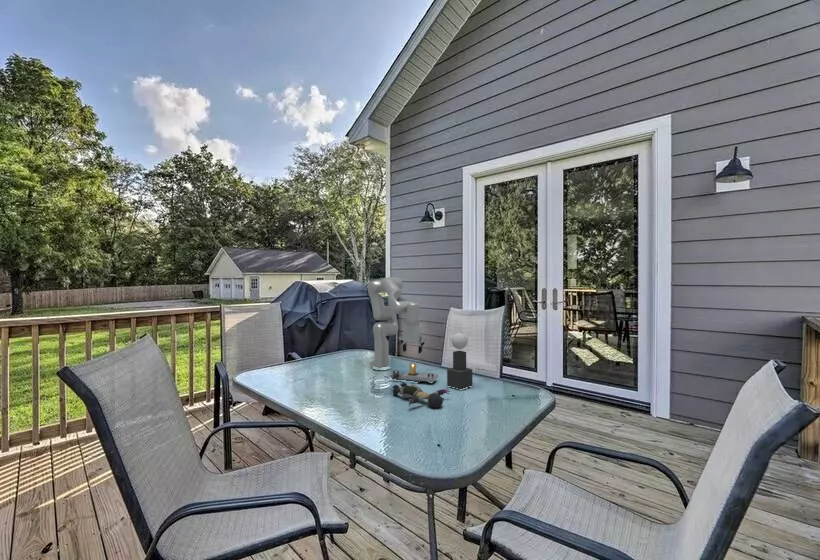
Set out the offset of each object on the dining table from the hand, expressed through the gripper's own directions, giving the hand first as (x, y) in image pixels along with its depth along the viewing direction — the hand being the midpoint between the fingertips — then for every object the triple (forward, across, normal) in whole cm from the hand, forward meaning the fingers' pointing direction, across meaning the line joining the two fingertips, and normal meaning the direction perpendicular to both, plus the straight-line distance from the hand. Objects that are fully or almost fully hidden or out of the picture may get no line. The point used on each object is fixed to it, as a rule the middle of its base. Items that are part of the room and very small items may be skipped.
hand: (412, 352), depth 219 cm
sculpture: (+16, +30, -4) cm, 34 cm away
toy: (+16, +17, -35) cm, 42 cm away
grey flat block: (+17, +1, -1) cm, 17 cm away
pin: (+17, +1, -1) cm, 17 cm away
